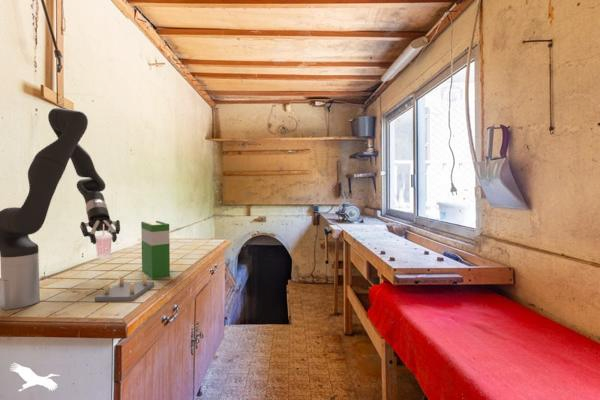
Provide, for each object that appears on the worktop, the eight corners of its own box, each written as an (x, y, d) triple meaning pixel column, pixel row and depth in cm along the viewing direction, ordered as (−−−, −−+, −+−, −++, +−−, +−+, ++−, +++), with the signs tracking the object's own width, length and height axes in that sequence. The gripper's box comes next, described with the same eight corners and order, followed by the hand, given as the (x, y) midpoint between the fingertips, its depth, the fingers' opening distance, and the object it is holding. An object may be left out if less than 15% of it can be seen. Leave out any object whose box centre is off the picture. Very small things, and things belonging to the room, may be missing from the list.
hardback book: (142, 270, 135) (141, 221, 135) (158, 267, 140) (157, 220, 140) (152, 279, 122) (151, 225, 122) (169, 275, 127) (169, 224, 127)
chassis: (132, 300, 98) (132, 286, 98) (94, 301, 98) (94, 287, 98) (154, 285, 114) (154, 273, 114) (121, 285, 114) (121, 273, 114)
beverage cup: (114, 255, 119) (114, 222, 119) (110, 258, 114) (110, 224, 113) (97, 256, 117) (96, 223, 117) (92, 259, 111) (92, 225, 111)
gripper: (78, 206, 115) (84, 238, 107) (118, 205, 125) (126, 234, 118) (75, 218, 118) (81, 249, 111) (114, 216, 129) (122, 245, 121)
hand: (104, 241), depth 114 cm, fingers closed on beverage cup, 6 cm apart
